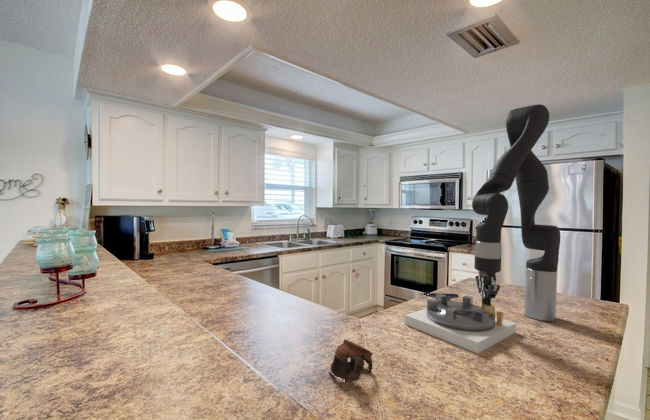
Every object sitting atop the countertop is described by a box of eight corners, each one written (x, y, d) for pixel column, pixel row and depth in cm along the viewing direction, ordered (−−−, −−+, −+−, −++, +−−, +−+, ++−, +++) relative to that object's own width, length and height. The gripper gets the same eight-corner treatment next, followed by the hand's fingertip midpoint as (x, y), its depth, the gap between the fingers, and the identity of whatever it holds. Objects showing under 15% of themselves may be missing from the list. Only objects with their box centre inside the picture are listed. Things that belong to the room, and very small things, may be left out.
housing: (445, 310, 115) (446, 291, 115) (515, 332, 96) (516, 310, 96) (404, 324, 101) (405, 303, 100) (477, 353, 81) (478, 327, 81)
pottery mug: (322, 368, 74) (336, 334, 76) (356, 383, 75) (368, 349, 77) (336, 383, 62) (351, 343, 65) (376, 401, 63) (389, 361, 66)
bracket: (432, 307, 120) (432, 300, 120) (423, 295, 135) (423, 289, 135) (470, 309, 119) (470, 302, 119) (456, 297, 134) (457, 291, 134)
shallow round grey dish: (482, 310, 106) (483, 296, 106) (505, 334, 86) (506, 316, 86) (422, 305, 110) (423, 291, 110) (431, 327, 90) (432, 310, 90)
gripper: (510, 260, 91) (508, 317, 92) (490, 252, 104) (489, 302, 105) (484, 259, 92) (482, 316, 92) (467, 251, 105) (466, 301, 105)
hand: (486, 308), depth 98 cm, fingers closed
